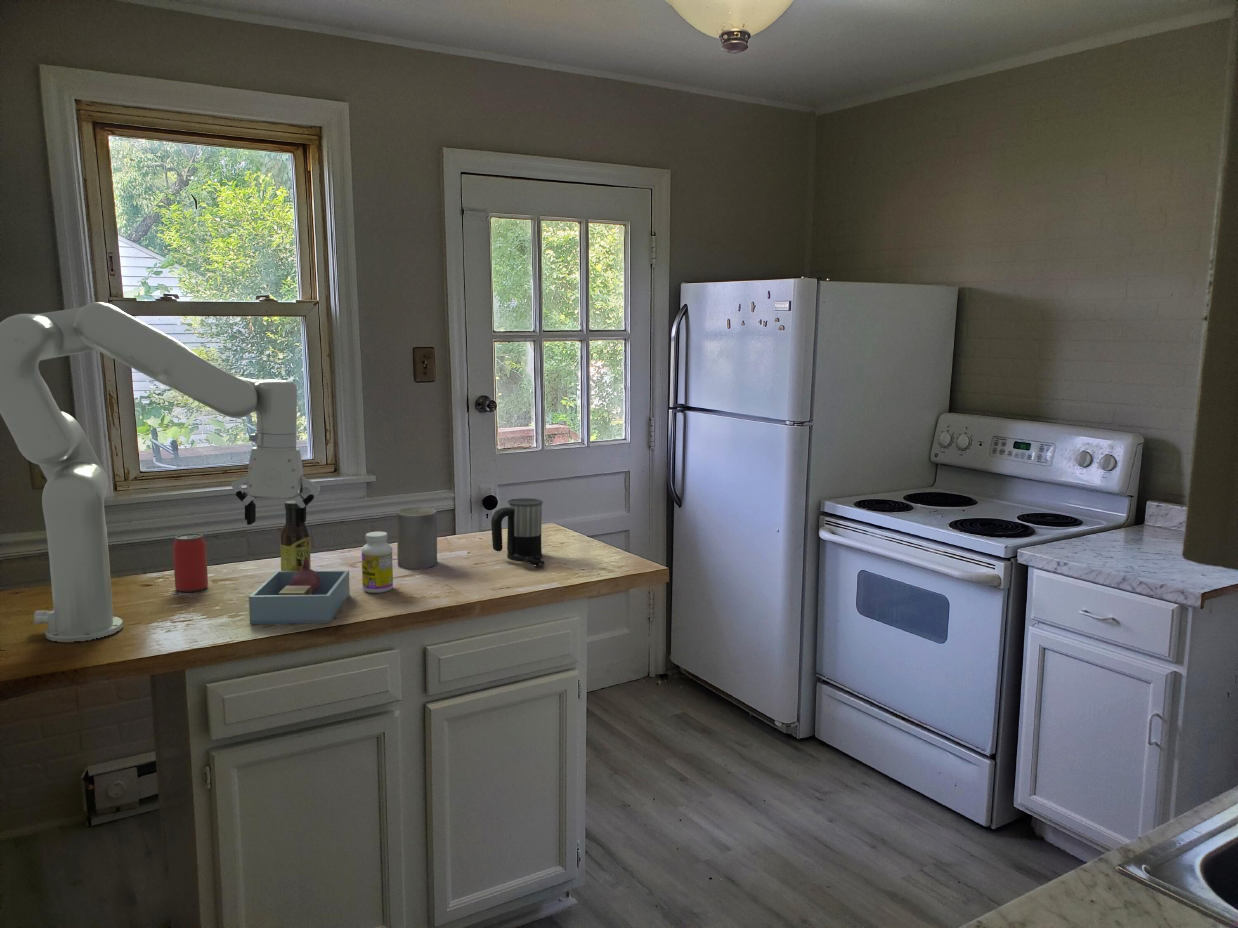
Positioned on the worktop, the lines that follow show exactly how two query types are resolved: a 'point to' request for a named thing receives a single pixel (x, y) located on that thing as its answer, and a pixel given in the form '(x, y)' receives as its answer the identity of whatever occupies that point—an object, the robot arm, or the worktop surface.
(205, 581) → the beer can
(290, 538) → the sauce bottle
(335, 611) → the tote
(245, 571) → the worktop surface
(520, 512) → the milk frother
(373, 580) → the supplement bottle
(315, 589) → the vegetable
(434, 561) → the pillar candle
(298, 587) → the walnut cube
